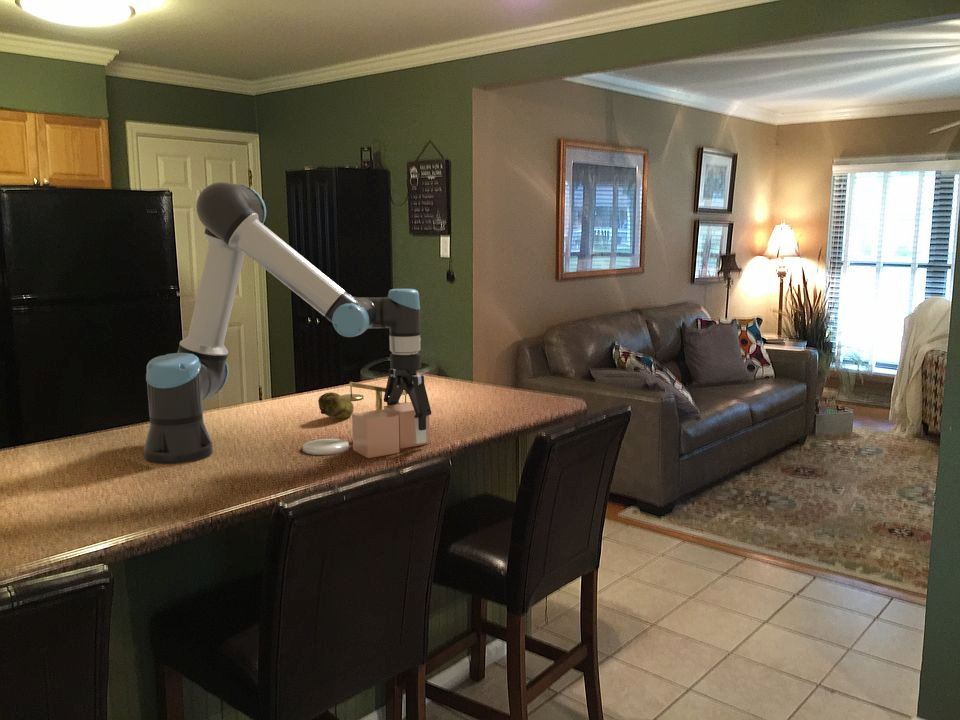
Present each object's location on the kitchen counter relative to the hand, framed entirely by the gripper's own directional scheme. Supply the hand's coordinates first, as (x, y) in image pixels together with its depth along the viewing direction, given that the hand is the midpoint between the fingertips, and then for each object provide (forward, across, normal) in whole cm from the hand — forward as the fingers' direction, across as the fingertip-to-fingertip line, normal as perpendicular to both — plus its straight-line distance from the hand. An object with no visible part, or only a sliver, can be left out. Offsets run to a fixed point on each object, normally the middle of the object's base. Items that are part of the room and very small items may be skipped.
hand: (407, 436), depth 200 cm
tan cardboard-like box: (+1, -3, +10) cm, 11 cm away
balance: (+1, +11, +2) cm, 11 cm away
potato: (+2, +33, +4) cm, 33 cm away
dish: (+1, +6, +19) cm, 20 cm away
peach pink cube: (+1, 0, 0) cm, 1 cm away
